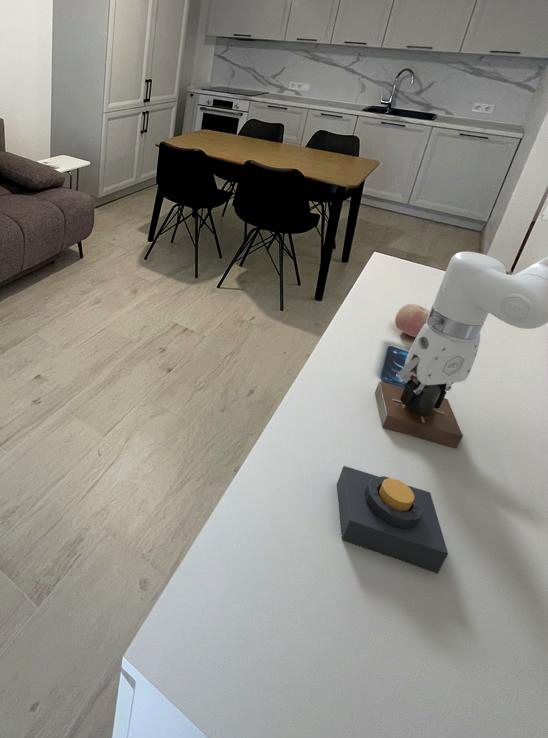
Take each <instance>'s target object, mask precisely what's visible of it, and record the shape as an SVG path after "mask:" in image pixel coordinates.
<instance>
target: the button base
mask: <svg viewBox="0 0 548 738" xmlns="http://www.w3.org/2000/svg"><path fill="white" fill-rule="evenodd" d="M340 471H341V472H340V474H339V477H338V479H337V482H336V492H337V502H338V503H339V504H338V503H337V504H338V514H340V515H339V524H340V525H341V526H340V525H339V526H340V532H341V533H340V535H342V536H341V541H343V542H346V543H349V544H351V543H352V544H351V545H354V544H355V546H357V545H358V546H357V547H360V546H361V547H360V548H363V549H366V550H368V551H371V550H372V552H374V551H375V552H374V553H377V552H378V553H377V554H380V553H381V554H380V555H383V556H385V557H389V558H391V557H392V558H391V559H394V558H395V559H394V560H397V559H398V561H400V560H401V561H400V562H403V563H405V564H406V563H407V564H408V565H411V564H412V566H414V565H415V566H414V567H417V566H418V567H417V568H420V567H421V568H420V569H423V570H426V571H429V572H431V571H432V573H434V572H435V574H439V572H440V570H441V568H442V567H443V564H444V562H445V561H446V559H447V557H448V555H449V552H448V548H447V545H446V542H445V538H444V534H443V531H442V528H441V524H440V521H439V517H438V515H437V511H436V507H435V504H434V501H433V497H432V493H431V492H430V491H427V490H424V489H420V488H417V487H414V486H410V485H408V484H406V485H407V486H408V487H409V488H410V489H411V490H412V492H413V494H414V501H413V503H412V505H411V507H410V509H409V510H408V511H398V510H395V509H393V508H391V507H390V506H388V505H387V504H385V503H384V501H383V500H382V499H381V497H380V494H379V490H380V488H381V485H382V483H383V481H384V480H385V479H388V478H389V477H388V476H384V475H382V476H381V475H380V476H379V475H375V474H372V473H369V472H366V471H362V470H359V469H356V468H353V467H349V466H346V465H343V466H342V469H341V470H340Z"/></svg>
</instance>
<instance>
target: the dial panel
mask: <svg viewBox="0 0 548 738" xmlns="http://www.w3.org/2000/svg"><path fill="white" fill-rule="evenodd" d="M403 391H404V388H403V387H399V386H395V385H393V384H390V383H388V382H384V381H378V383H377V385H376V388H375V391H374V395H375V401H376V404H377V405H376V406H377V410H378V414H379V419H380V423H381V428H383V429H387V430H390V431H393V432H397V433H401V434H404V435H408V436H410V437H415V438H418V439H422V440H425V441H429V442H432V443H436V444H440V445H443V446H447V447H450V448H453V449H458V447H459V445H460V444H461V441H462V439H463V433H462V430H461V428H460V425H459V423H458V421H457V418H456V416H455V414H454V411H453V408H452V407H451V404H450V401H449V399H448V398H445V397H444V399H443V402H442V404H441V406H440V408H435V407H434V409H433V411H432V413H431V414H430V415H422V414H418V413H416V412H414V411H413V412H412V411H411V410H410V409H409V408H408V407H407V406H406V405H404V404H403V403H402V402H401V400H400V398H401V396H402V393H403Z"/></svg>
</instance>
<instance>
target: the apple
mask: <svg viewBox="0 0 548 738" xmlns="http://www.w3.org/2000/svg"><path fill="white" fill-rule="evenodd" d="M429 313H430V310H429V309H427V308H426V307H423V306H422V305H418V304H415V303H408V304H407V303H406V304H405V305H403V306H401V308H399V309H398V311H397V313H396V314H395V319H394V324H395V327H396V328H397V329H398V330H399V331H401V332H403V333H404V334H406V335H408V336H410V337H412V338H415V339H416V337H417V335H418V333H419V332H420V330H421V329H422V327H423V326H424V324H426V320H427V318H428V315H429Z"/></svg>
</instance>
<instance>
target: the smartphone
mask: <svg viewBox="0 0 548 738" xmlns="http://www.w3.org/2000/svg"><path fill="white" fill-rule="evenodd" d="M408 353H409V351H408V350H405V349H401V348H400V347H396V346H393V345H388V346H387V347H386V351H385V356H384V360H383V363H382V367H381V371H380V378H379V379H381V380H382V382H384V383H387V384H391V385H395V386H399V387H403V388H405V386H406V385H405V384H404V382H403V381H402V380H401V379H400V378H399V377H397V374H398V373H399V372H400V371H401V370H402V369H403V368H404V366H405V361H406V358H407V355H408ZM415 378H416V377H415Z"/></svg>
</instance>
